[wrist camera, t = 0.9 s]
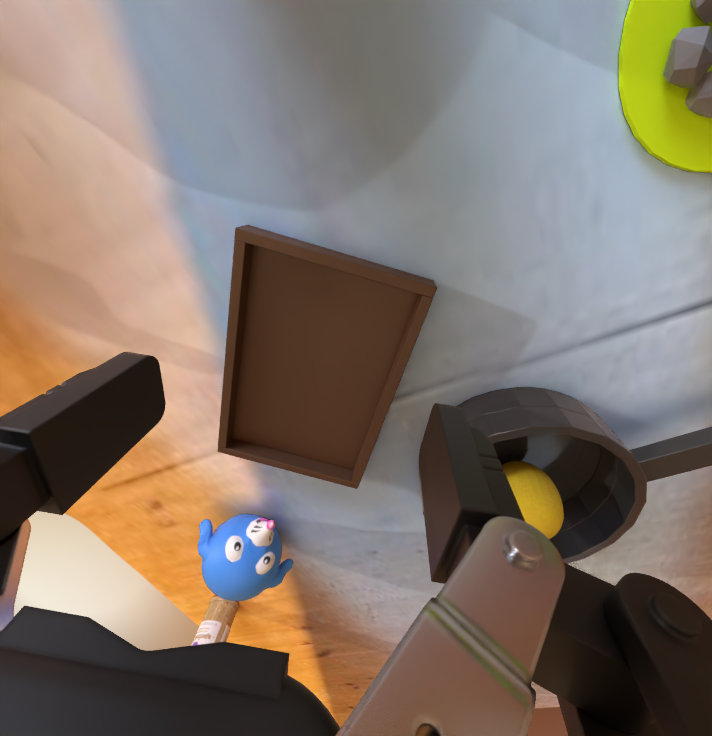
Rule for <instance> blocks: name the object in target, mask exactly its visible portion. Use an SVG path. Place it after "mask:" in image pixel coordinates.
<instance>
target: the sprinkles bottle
mask: <svg viewBox="0 0 712 736" xmlns="http://www.w3.org/2000/svg"><path fill="white" fill-rule="evenodd" d="M238 608H239V605H238V603H237V601H229V600H225V599H223V598H220V597H219V596H215V597H213V598H212V599H211V601H210V605H209V607H208V610H207V612H206V614H205V617H204V619H203V621H202V623H201V624H200V627H199V629H198V631H197V634H196V636H195V639H194V641H193V643H192V645H191V646H193V645H201V644H209V643H217V642H226V640H227V638H228V635H229V632H230V628H231V625H232V622H233V620H234V617H235V614H236V612H237V611H238Z"/></svg>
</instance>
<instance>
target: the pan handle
mask: <svg viewBox="0 0 712 736" xmlns="http://www.w3.org/2000/svg"><path fill="white" fill-rule="evenodd" d="M630 451H631V452H632V453H633V455H634V456H635V458H636V460H637V461H638V463H639V465H640V467H641V468H642V470H643V472H644V474H645V475H646V478H647V482H649V481H653V480H657V479H661V478H664V477H668V476H672V475H676V474H680V473H684V472H688V471H692V470H696V469H699V468H703V467H707V466H711V465H712V427H709V428H705V429H702V430H698V431H695V432H691V433H688V434H684V435H681V436H677V437H674V438H670V439H667V440H663V441H660V442H656V443H653V444H650V445H646V446H643V447H639V448H636V449H632V450H630Z"/></svg>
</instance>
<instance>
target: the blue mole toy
mask: <svg viewBox="0 0 712 736" xmlns="http://www.w3.org/2000/svg"><path fill="white" fill-rule="evenodd" d="M275 524H276V523H275V521H274V520H269V521H268V519H266V518H263V517H261V516H258V515H253V514H242V515H238V516H235V517H232V518H230V519H229V520H227V521H226V522H224V523H223V524H221V525H220V526H219V527H218V528H217V529H216V530H215V531H214V533H213V534H212V531H213V528H212V523H211V521H210V520H208V519H205V520H204V521H202V522H201V524H200V525H199V527H200V539H199V543H198V551H199V554H200V556H201V557H202V574H203V578H204V581H205V583H206V585H207V586H208V588H209V589H210V590H211V591H212V592H213V593H214V594H216V595H217V596H219V597H220V598H223V599H225V600H229V601H243V600H248V599H251V598H253V597H255V596H257V595H258V594H260V593H261V592H262V591H263V590H265V589H267V588H272V587H275V586H277V585H278V584H280V583H281V582H282V580H283V578H284V576H285V574H286V573H287V572H288V571H289V570H290V569H291V568H292V565H293V560H292V559H287V560H285V561H283V562H282V563H281V564H280V561H281V555H282V543H281V538H280V535H279V533H278V531H277V530H276V528H275ZM279 564H280V565H279Z"/></svg>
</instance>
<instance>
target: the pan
mask: <svg viewBox="0 0 712 736" xmlns="http://www.w3.org/2000/svg"><path fill="white" fill-rule="evenodd" d="M456 407H461V408H463V410H464V413H465V415H466V418H467V421H468V424H469V427H474V428H479V429H480V430H481V431H482V432H483V433H484V434H485V435H486V436H487V437H488V438H489V439H490V441H491V442H492V443H493V446H494V448H495V451H496V453H497V455H498V460H500V462H501V465H503V464H505V463H507V462H511V461H524V462H528V463H531V464H533V465H535V466H537V467H538V468H540V469H541V470H542V471H543V472H545V473H546V474H547V475H548V476H549V478H550V479H551V480H552V481H553V483H554V485H555V486H556V488H557V490H558V492H559V494H560V497H561V500H562V504H563V512H564V519H563V523H562V526H561V528H560V530H559V531H558V533H557V534H556V535H555V536H553V537H552V538H550V539H549V540H550V541H551V542H552V543H553V545H554V546H555V547H556V548H557V550H558V552H559V553H560V555H561V557H562V560H563V562H565V563H566V564H567V563H571V562H574V561H577V560H581V559H584V558H586V557H588V556H590V555H592V554H594V553H596V552H598V551H600V550H601V549H603V548H605V547H607V546H609V545H611V544H612V543H614V542H615V541H616V540H618V539H619V538H620V537H621V536H622V535H623V534H624V533H625V532H626V531H627V530H629V529H630V528H631V527H632V526H633V525H634V524H635V522H636V520H637V518H638V516H639V514H640V512H641V510H642V508H643V507H644V505H645V503H646V491H647V478H646V475H645V474H644V472H643V470H642V468H641V467H640V465H639V463H638V461H637V460H636V458H635V456H634V455H633V453H632V452H631V451H630V450H629V449H628V448H627V447H626V446H625V445H624V443H623V442H622V441H621V440H620V439H619V438H618V437H617V436H616V435H615V434H614V432H613V431H612V430H611V429H610V428H609V427H608V426H607V425H606V424H605V423H604V421H603V420H602V419H601V418H600V417H599V416H598V415H597V414H596V413H594V412H593V411H592V410H590V409H589V408H588V407H587V406H586V405H584V404H583V403H581V402H580V401H578V400H576V399H574V398H572V397H571V396H568V395H565V394H563V393H560V392H557V391H552V390H548V389H542V388H532V387H517V388H508V389H501V390H496V391H492V392H488V393H485V394H482V395H479V396H476V397H474V398H471V399H469V400H467V401H465V402H463V403H461V404H460V405H458V406H456ZM419 475H420V472H419ZM420 485H421V481H420ZM421 496H422V490H421ZM422 506H423V499H422ZM423 515H424V508H423Z"/></svg>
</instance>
